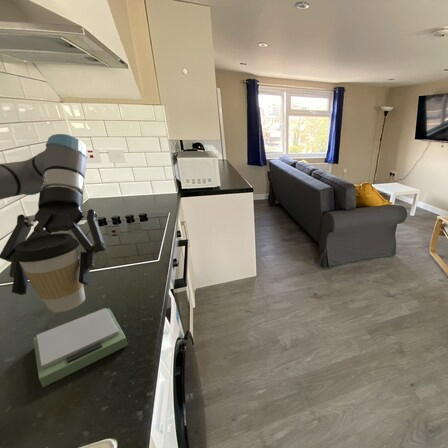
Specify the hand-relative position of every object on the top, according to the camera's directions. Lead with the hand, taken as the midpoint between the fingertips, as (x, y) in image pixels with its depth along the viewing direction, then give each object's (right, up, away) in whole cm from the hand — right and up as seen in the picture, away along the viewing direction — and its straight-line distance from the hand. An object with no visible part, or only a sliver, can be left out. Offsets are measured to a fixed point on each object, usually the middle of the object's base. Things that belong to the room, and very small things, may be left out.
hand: (52, 288), depth 53 cm
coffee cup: (-1, -5, +5) cm, 7 cm away
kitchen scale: (-1, -16, +9) cm, 18 cm away
